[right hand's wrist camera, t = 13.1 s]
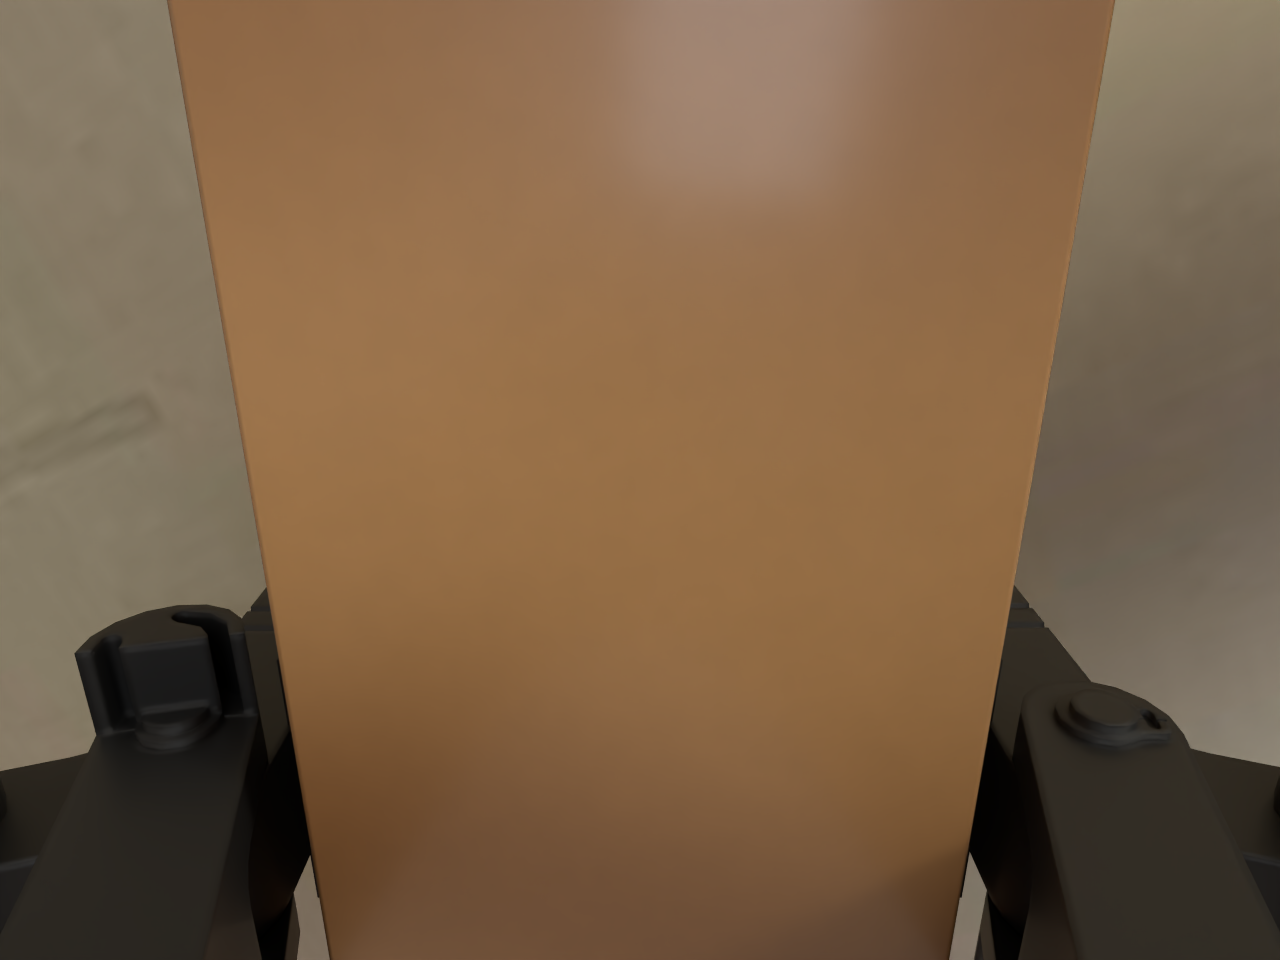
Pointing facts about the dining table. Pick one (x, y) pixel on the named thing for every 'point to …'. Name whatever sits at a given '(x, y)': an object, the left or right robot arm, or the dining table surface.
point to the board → (640, 446)
